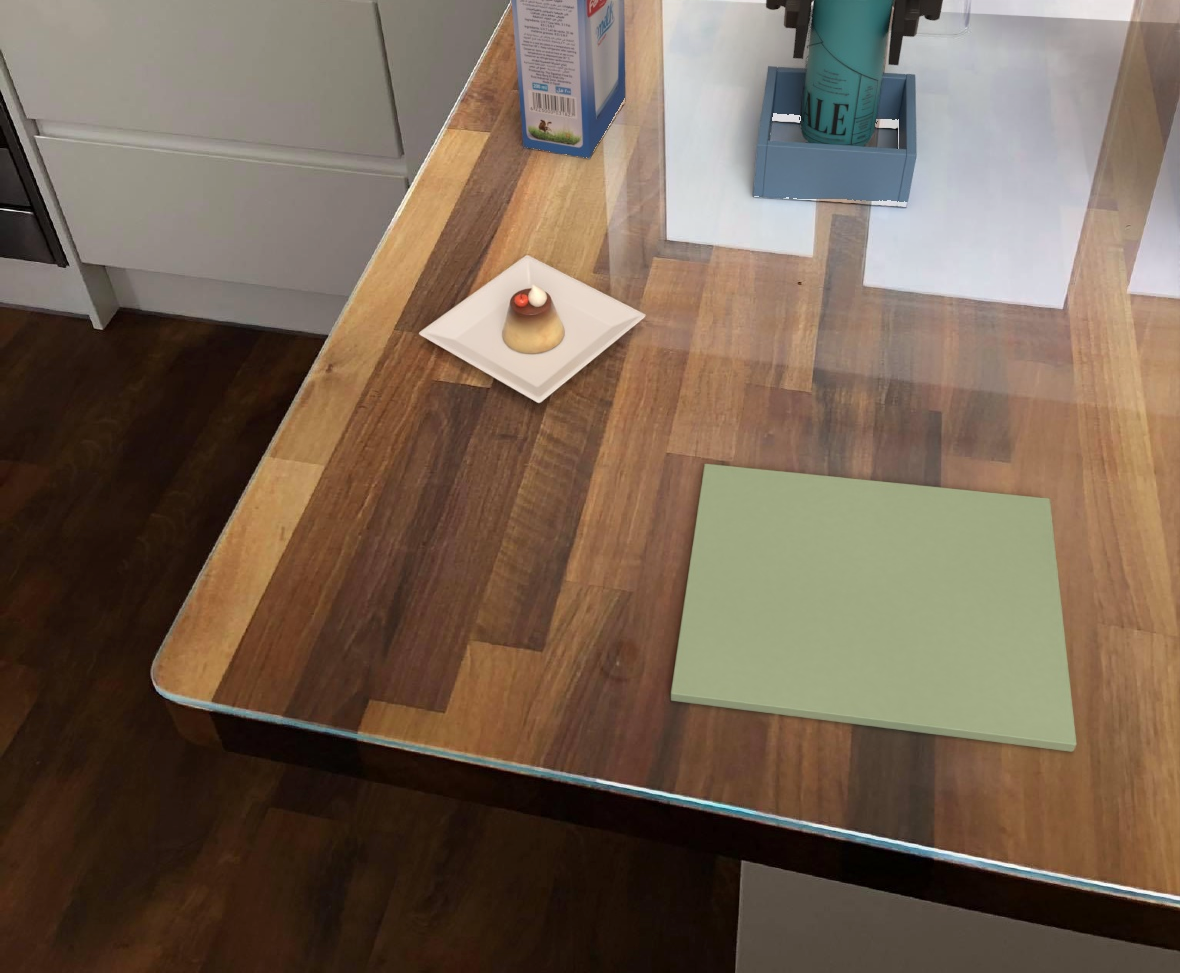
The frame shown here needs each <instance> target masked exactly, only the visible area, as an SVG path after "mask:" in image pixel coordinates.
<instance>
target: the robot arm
mask: <svg viewBox="0 0 1180 973" xmlns="http://www.w3.org/2000/svg"><path fill="white" fill-rule="evenodd" d="M813 2H814V0H765V8H766V9H768V10H770V11H775V10H780V8H781V7H782V8H784V16H783V26H784V28H785V29H795V34H794V43H793V54H792V56H793V57H792V59H799V60H803V59H804V54H805V50H806V45H807V40H808V33H809V27H810V26H809V24H810V22H809V20H810V21H811V19H810V17H811V15H812V14H811V13H810V12H812V6H813ZM943 2H944V0H893V6H892V8H893V10H892V17H891V24H890V26H891V27H890V36H889V38H890V39H889V50H888V63H887V65H888V66H899V64H900V57H901V51H902V45H903V39H904V37H909V38H914V37H915V36H917V33H918V29H919V23H920V17H924V19H925V20H928V21H934V22H935V21H938V20H940V18H941V13H942V8H943ZM810 14H811V15H810Z"/></svg>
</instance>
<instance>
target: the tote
mask: <svg viewBox="0 0 1180 973" xmlns="http://www.w3.org/2000/svg"><path fill="white" fill-rule="evenodd" d="M806 68H807V67H790V66H777V65H776V66H775V65H774V66H772V65H768V66H767V72H766V79H765V86H764V93H763V100H762V106H761V114H760V120H759V126H758V135H757V142H756V152H755V162H754V163H755V164H754V178H753V179H754V180H753V189H752V197H753V196H759V197H762V198H763V197H769V198H768V199H773V198H782V199H781V200H784V199H783V198H786V197H789V199H793V198H797V199H847V200H852V199H853V200H854V201H856V200H860V201H862V200H866V201H879V200H880V201H882V200H883V201H887V200H891V201H897V202H898V201H899V202H904V201H905V202H908V203H909V198H910V193H911V188H912V187H911V186H912V183H913V177H914V173H915V167H916V162H917V161H916V160H917V156H918V155H917V153H918V150H917V149H918V148H917V146H918V144H917V90H916V88H917V87H916V86H917V85H916V83H917V82H916V80H917V79H916V74H914V73H896V72H883V73H884V74H885V75H883V76H882V85H881V88H880V89H881V90H880V91H881V92H880V96H879V101H881V102H878V105H879V107H878V109H877V111H878V112H877V115H878V116H877V117H876V119H892V120H895V119H897V120H898V119H899V149H897V148H892V147H876V146H848V145H832V144H817V143H808V142H798V141H786V140H785V141H783V140H771V135H770V133H772V128H771V125H772V126H773V121H772V117H773V113H777V114H787V115H789V114H794V115H801V110H800V107H801V97H802V95H803V97H804V92H803V91H804V90H803V89H802V88H804V86H805V78H806ZM804 72H805V73H804ZM804 75H805V76H804ZM803 85H804V86H803ZM882 87H883V88H882ZM802 92H803V94H802ZM881 94H882V95H881ZM880 98H881V99H880ZM802 106H803V99H802Z"/></svg>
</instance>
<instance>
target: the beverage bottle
mask: <svg viewBox="0 0 1180 973" xmlns="http://www.w3.org/2000/svg"><path fill="white" fill-rule="evenodd" d="M810 13H811V14H810V20H809V27H808V29H809V30H808V33H807V36H809V39H807V42H808V45H806V49H807V50H808V51H807V57H805V59H806V62H804V68H806V78H805V86H804V85H803V86H804V88H802V89H803V90H804V91H803V92H804V97H803V95H802V97H801V107H800V110H801V115H800V116H801V121H800V123H801V124H798V125H799V129H800V131H801V135H802V137H803V139H804V140H805V142H806V143H817V144H832V145H848V146H863V147H866V145H868V144H869V143H870V141H871V139H872V138H873V136H874V133H875V130H876V128H875V123H876V124H877V122H878V121H877V122H876V117H877V116H878V115H877V112H878V111H877V109H878V107H879V105H878V102H881V101H879V96H880V92H881V91H880V90H881V89H880V88H881V85H882V76H883V75H885V74H884V73H885V72H884V70H886V67H885V59H886V58H885V57H886V51H887V44H888V37H889V31H890V26H891V20H892V14H893V0H814V1H813V2H812V8H811V12H810ZM804 73H805V72H804ZM804 76H805V75H804ZM882 88H883V87H882ZM803 92H802V94H803ZM881 95H882V94H881ZM802 99H803V106H802ZM880 99H881V98H880ZM799 120H800V117H799Z"/></svg>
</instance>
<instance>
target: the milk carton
mask: <svg viewBox="0 0 1180 973" xmlns="http://www.w3.org/2000/svg"><path fill="white" fill-rule="evenodd" d="M511 11H512V22H513V34H514V35H513V36H514V47H515V49H514V50H515V62H516V71H517V84H518V96H519V109H520V120H521V133H522V145H523V148H524V147H528V148H532V149H533V148H534V149H538V150H539V149H540V150H544V151H548V152H547V153H550V152H552V153H551V154H555V153H558V154H557V155H561V154H567V155H571V156H570V157H573V156H578V157H577V158H579V157H584V158H586V157H587V158H588V159H587V160H590V159H591V158H592V156H593V155H592V153H593V151H594V149H595V147H596V146H597V144H598V143H599V141H600V140H601V138H602V136H603V135H604V133H605V131H606V130H607V128H608V126H609V124H610V123H611V121H612V119H613V117H614V116H615V113H616V112H617V111H618V109H619V107H620V105H621V103H622V102H623V100H624V98H625V99H626V26H625V24H626V22H625V19H626V18H625V14H626V13H625V0H511ZM601 141H602V140H601ZM532 149H531V150H532ZM538 150H537V151H538ZM544 151H543V152H544ZM549 151H550V152H549ZM593 154H594V153H593ZM567 155H566V156H567ZM591 155H592V156H591ZM590 157H591V158H590ZM584 158H583V159H584Z"/></svg>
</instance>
